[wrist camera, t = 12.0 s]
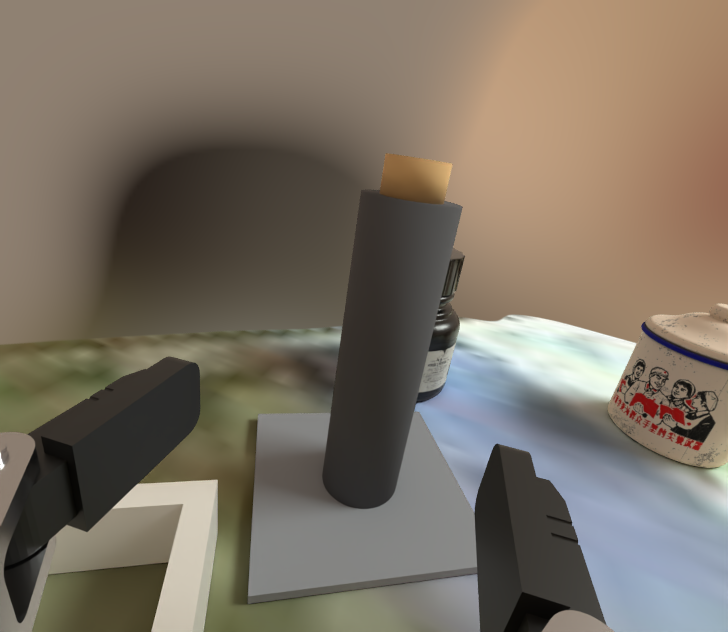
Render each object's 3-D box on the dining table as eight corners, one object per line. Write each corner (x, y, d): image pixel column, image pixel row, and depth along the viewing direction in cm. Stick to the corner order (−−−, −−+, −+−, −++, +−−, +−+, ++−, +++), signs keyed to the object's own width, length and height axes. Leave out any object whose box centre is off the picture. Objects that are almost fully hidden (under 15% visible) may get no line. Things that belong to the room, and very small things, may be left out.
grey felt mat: (417, 417, 30) (419, 411, 30) (499, 570, 19) (501, 563, 19) (257, 419, 27) (258, 413, 27) (247, 603, 16) (248, 596, 16)
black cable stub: (385, 449, 25) (445, 164, 18) (405, 505, 21) (492, 169, 15) (318, 452, 24) (357, 149, 17) (327, 512, 20) (382, 151, 13)
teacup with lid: (581, 409, 34) (635, 287, 30) (637, 394, 39) (691, 285, 34) (749, 520, 25) (863, 364, 20) (798, 483, 29) (901, 348, 25)
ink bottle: (445, 418, 30) (486, 272, 26) (337, 394, 31) (357, 249, 26) (441, 361, 39) (471, 245, 35) (357, 343, 40) (375, 229, 35)
